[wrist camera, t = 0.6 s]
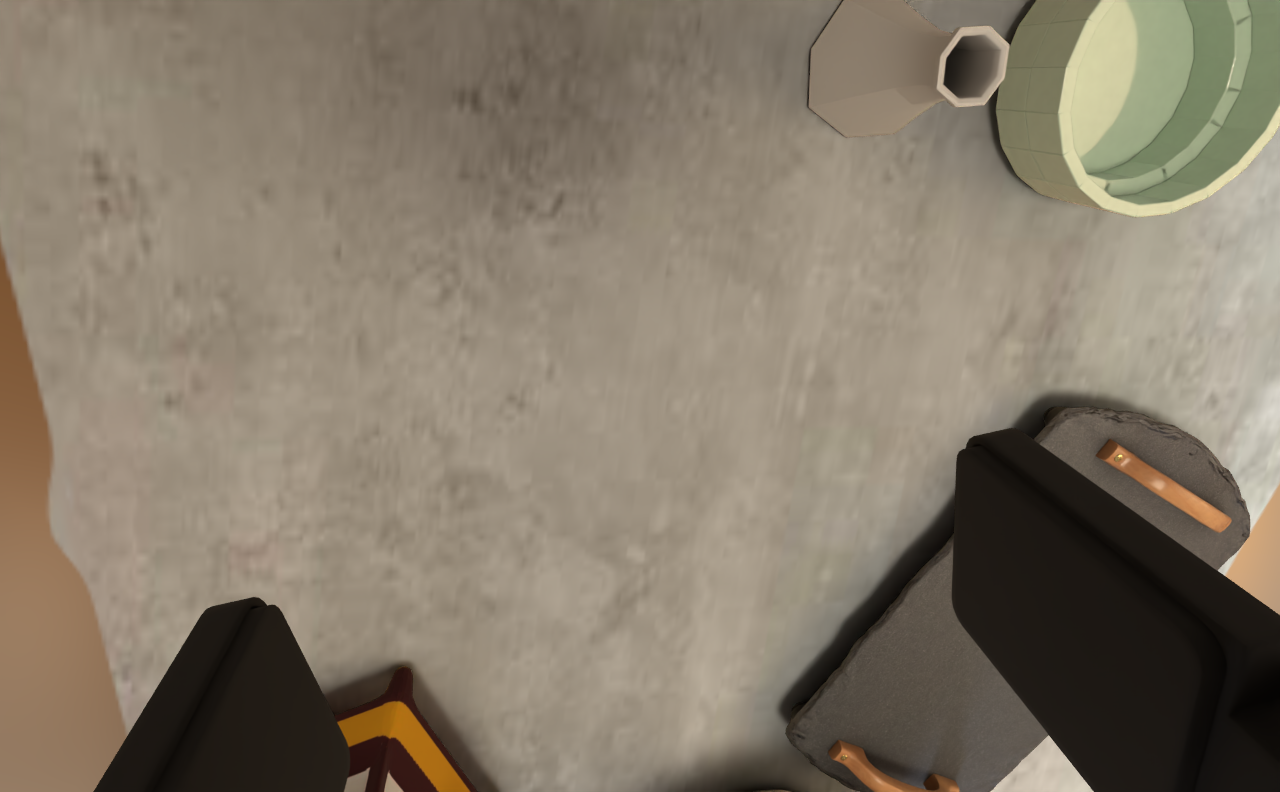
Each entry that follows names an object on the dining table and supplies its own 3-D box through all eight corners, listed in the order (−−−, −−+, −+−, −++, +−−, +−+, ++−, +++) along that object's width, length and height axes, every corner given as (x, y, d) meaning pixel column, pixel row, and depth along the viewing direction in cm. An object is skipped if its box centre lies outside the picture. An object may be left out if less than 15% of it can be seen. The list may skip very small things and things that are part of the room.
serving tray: (941, 796, 67) (978, 862, 61) (748, 731, 59) (771, 799, 53) (1254, 483, 55) (1335, 528, 50) (1067, 352, 48) (1138, 389, 42)
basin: (1007, -50, 37) (1090, -72, 31) (1236, -64, 38) (1353, -87, 33) (973, 208, 43) (1038, 228, 37) (1173, 188, 44) (1263, 204, 39)
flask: (833, -27, 36) (935, -60, 27) (952, 17, 38) (1085, -1, 29) (786, 119, 39) (864, 132, 30) (899, 154, 40) (1006, 176, 31)
